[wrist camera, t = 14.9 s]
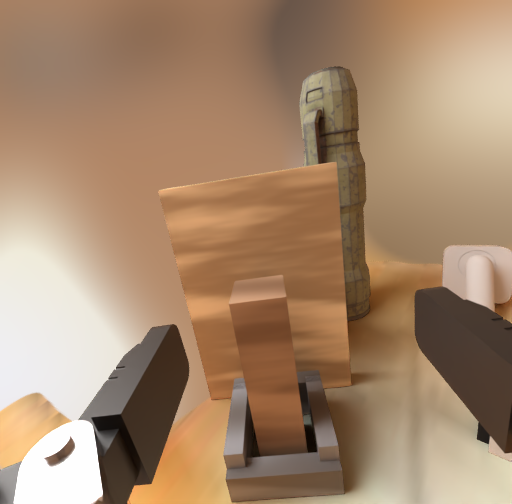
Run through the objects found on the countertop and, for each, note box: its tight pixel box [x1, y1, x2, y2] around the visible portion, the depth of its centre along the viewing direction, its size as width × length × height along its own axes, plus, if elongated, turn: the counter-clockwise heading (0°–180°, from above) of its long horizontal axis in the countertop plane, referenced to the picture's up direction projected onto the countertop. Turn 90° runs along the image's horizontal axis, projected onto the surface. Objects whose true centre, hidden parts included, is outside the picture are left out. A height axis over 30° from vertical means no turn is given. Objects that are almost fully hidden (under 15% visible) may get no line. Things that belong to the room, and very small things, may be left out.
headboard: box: [158, 162, 351, 502], centre depth 24 cm, size 12×16×24 cm
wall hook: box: [442, 245, 512, 312], centre depth 39 cm, size 8×10×10 cm
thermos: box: [299, 67, 370, 321], centre depth 42 cm, size 9×12×35 cm
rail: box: [229, 275, 308, 457], centre depth 24 cm, size 6×4×16 cm, turn 178°
